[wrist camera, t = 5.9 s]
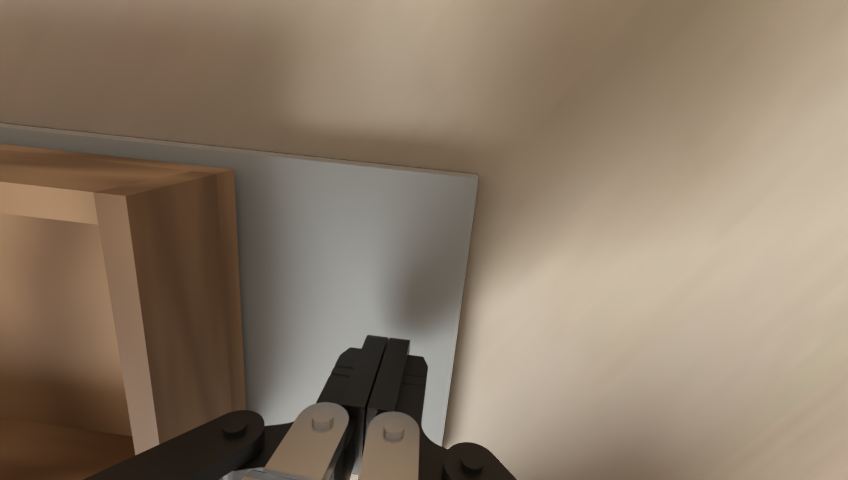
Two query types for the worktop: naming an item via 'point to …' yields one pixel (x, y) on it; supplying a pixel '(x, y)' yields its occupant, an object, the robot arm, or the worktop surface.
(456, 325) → the backstop board
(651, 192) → the worktop surface
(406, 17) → the worktop surface
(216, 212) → the box
